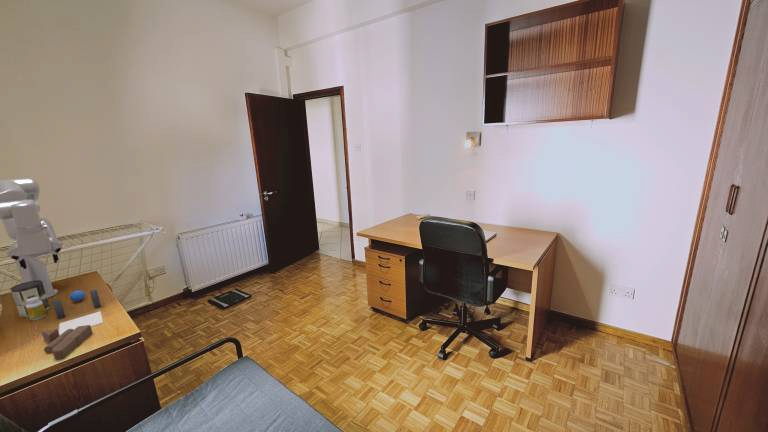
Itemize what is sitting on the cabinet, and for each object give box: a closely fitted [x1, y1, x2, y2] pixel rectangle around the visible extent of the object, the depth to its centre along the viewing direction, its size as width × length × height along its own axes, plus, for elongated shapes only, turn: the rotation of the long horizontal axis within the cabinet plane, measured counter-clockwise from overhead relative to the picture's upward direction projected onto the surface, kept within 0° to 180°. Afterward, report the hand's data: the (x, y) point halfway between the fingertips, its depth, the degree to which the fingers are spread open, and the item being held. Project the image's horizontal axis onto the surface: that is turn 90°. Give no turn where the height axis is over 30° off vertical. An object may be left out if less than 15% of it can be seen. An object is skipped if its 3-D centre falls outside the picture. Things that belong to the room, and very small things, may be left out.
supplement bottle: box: [26, 297, 47, 321], centre depth 143 cm, size 5×5×10 cm
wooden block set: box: [41, 325, 93, 361], centre depth 121 cm, size 17×6×18 cm
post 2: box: [89, 289, 102, 309], centre depth 152 cm, size 3×3×9 cm
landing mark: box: [58, 310, 104, 335], centre depth 139 cm, size 14×14×1 cm
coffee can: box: [9, 280, 51, 317], centre depth 149 cm, size 10×10×14 cm
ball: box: [69, 290, 86, 303], centre depth 159 cm, size 6×6×6 cm
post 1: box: [51, 298, 66, 320], centre depth 143 cm, size 3×3×9 cm
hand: (41, 265), depth 141 cm, fingers open, 9 cm apart
